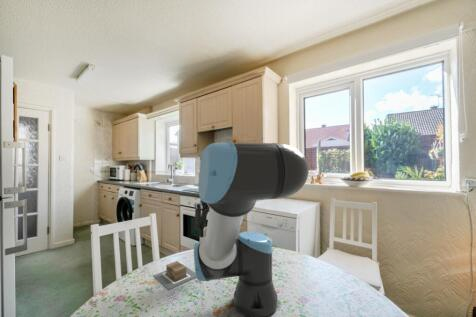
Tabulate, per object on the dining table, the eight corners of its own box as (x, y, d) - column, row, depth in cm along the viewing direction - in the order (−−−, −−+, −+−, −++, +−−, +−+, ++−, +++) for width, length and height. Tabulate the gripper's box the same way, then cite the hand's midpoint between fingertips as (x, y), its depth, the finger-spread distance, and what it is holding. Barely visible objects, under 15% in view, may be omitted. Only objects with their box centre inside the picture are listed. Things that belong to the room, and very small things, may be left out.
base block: (186, 276, 91) (186, 267, 91) (175, 281, 88) (175, 271, 88) (176, 269, 97) (176, 261, 97) (166, 274, 94) (166, 264, 94)
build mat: (199, 276, 92) (199, 275, 92) (168, 290, 83) (168, 289, 83) (182, 265, 102) (182, 264, 102) (153, 276, 93) (153, 275, 93)
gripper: (221, 184, 101) (221, 234, 101) (184, 188, 88) (185, 245, 88) (232, 186, 95) (232, 238, 95) (194, 190, 82) (195, 251, 82)
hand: (209, 242), depth 92 cm, fingers closed on oak block, 6 cm apart
